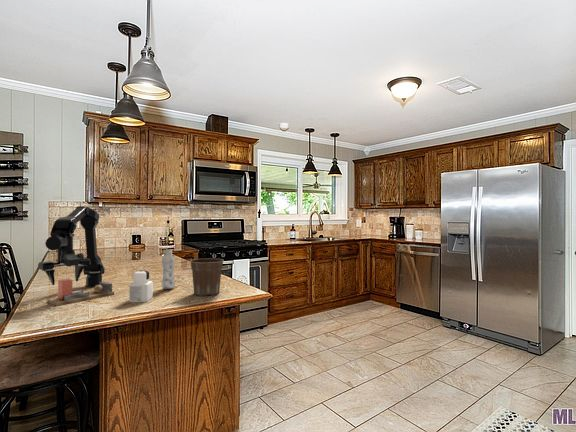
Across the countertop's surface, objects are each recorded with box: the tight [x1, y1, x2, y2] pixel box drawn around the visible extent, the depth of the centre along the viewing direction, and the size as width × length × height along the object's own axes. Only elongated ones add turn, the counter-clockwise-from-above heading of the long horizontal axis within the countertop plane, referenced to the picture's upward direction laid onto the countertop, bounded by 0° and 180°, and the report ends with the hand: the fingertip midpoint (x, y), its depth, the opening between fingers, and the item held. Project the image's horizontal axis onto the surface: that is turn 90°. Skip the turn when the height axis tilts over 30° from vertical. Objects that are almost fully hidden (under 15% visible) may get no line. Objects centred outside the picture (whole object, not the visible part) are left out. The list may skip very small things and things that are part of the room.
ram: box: [57, 278, 82, 300], centre depth 149 cm, size 8×4×8 cm, turn 146°
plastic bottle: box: [161, 249, 176, 290], centre depth 172 cm, size 6×7×20 cm
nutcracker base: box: [46, 280, 115, 307], centre depth 153 cm, size 24×10×5 cm, turn 146°
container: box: [128, 269, 154, 303], centre depth 151 cm, size 8×8×13 cm
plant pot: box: [189, 257, 225, 297], centre depth 165 cm, size 16×16×16 cm
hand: (65, 283), depth 148 cm, fingers open, 9 cm apart
